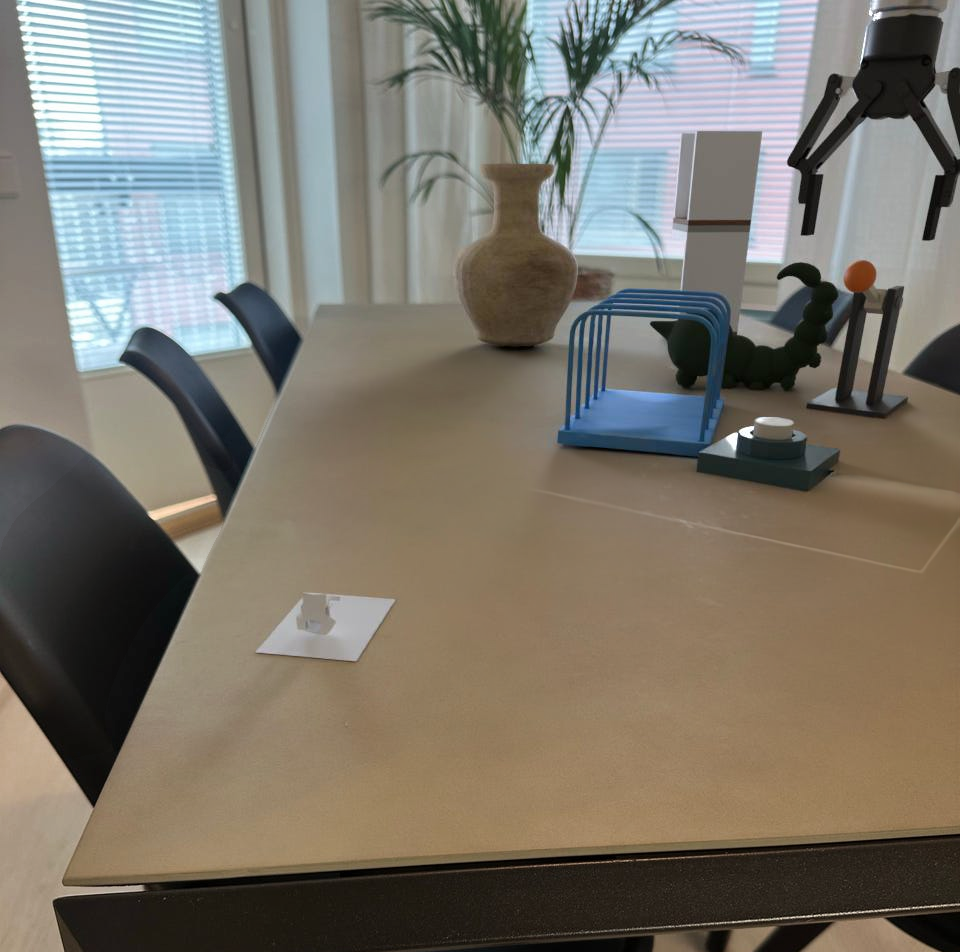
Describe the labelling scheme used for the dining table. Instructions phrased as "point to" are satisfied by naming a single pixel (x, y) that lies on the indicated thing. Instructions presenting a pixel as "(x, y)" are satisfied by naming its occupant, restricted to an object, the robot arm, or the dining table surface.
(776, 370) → the toy figurine
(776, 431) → the white button cap
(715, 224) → the display case
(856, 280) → the switch lever
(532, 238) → the vase
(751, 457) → the button base
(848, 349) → the orange ball swing frame
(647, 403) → the file sorter
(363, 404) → the dining table surface
